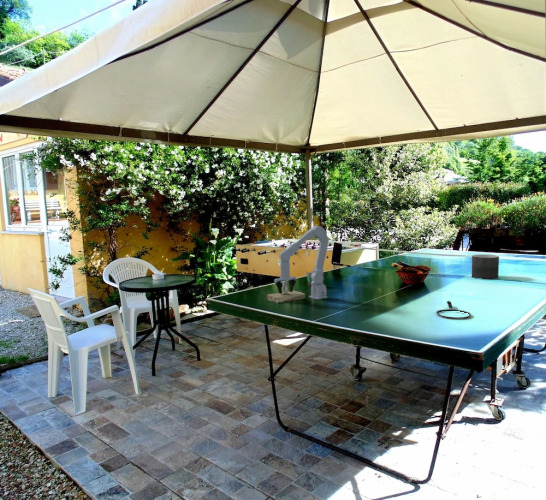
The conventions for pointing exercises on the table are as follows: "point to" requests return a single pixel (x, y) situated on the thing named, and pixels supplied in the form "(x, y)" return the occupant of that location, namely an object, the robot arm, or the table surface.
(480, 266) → the planter
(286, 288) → the steel peg
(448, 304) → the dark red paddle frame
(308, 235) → the robot arm
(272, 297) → the hole block
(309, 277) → the food container
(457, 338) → the table surface
